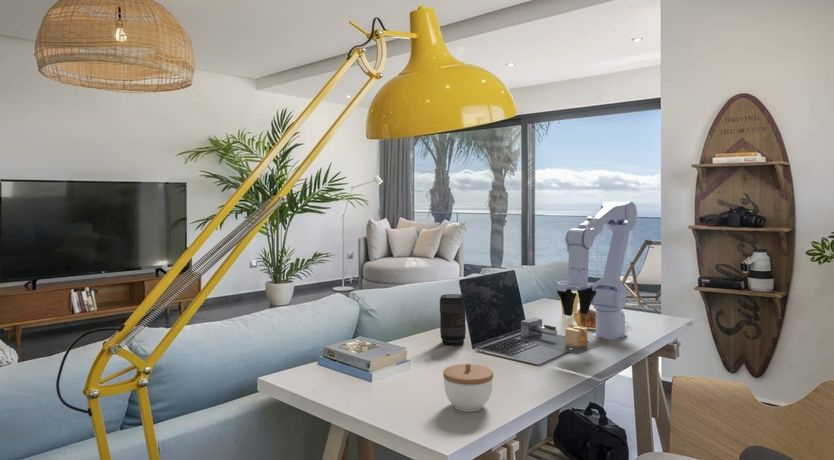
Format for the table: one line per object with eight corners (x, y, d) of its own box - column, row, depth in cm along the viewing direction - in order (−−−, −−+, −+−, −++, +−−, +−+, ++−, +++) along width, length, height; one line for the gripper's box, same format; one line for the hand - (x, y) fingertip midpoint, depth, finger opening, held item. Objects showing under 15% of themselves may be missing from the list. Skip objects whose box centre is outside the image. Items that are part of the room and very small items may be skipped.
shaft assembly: (534, 333, 177) (534, 317, 176) (561, 339, 169) (561, 323, 168) (521, 337, 172) (521, 320, 172) (548, 343, 164) (548, 326, 164)
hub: (575, 343, 164) (575, 325, 164) (587, 346, 161) (587, 328, 161) (565, 346, 160) (565, 328, 160) (576, 349, 157) (577, 331, 157)
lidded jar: (459, 394, 124) (459, 354, 124) (501, 403, 118) (501, 361, 118) (434, 409, 116) (433, 366, 115) (478, 420, 110) (478, 375, 109)
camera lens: (466, 340, 172) (465, 293, 171) (465, 347, 164) (465, 298, 163) (440, 339, 172) (440, 293, 172) (439, 346, 164) (438, 297, 164)
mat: (539, 333, 179) (539, 331, 179) (601, 347, 161) (601, 345, 161) (513, 340, 171) (513, 338, 171) (576, 355, 153) (576, 353, 153)
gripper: (573, 270, 152) (571, 318, 152) (604, 269, 161) (602, 314, 161) (553, 268, 158) (551, 314, 158) (584, 267, 167) (582, 311, 167)
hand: (576, 314), depth 160 cm, fingers open, 7 cm apart
